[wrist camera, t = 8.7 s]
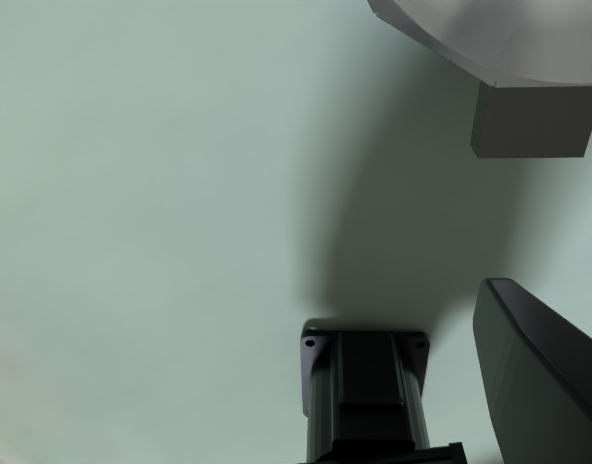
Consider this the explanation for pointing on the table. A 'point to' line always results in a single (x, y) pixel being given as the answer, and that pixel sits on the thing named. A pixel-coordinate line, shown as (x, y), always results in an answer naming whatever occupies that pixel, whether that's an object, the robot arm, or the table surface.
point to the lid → (514, 34)
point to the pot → (512, 103)
